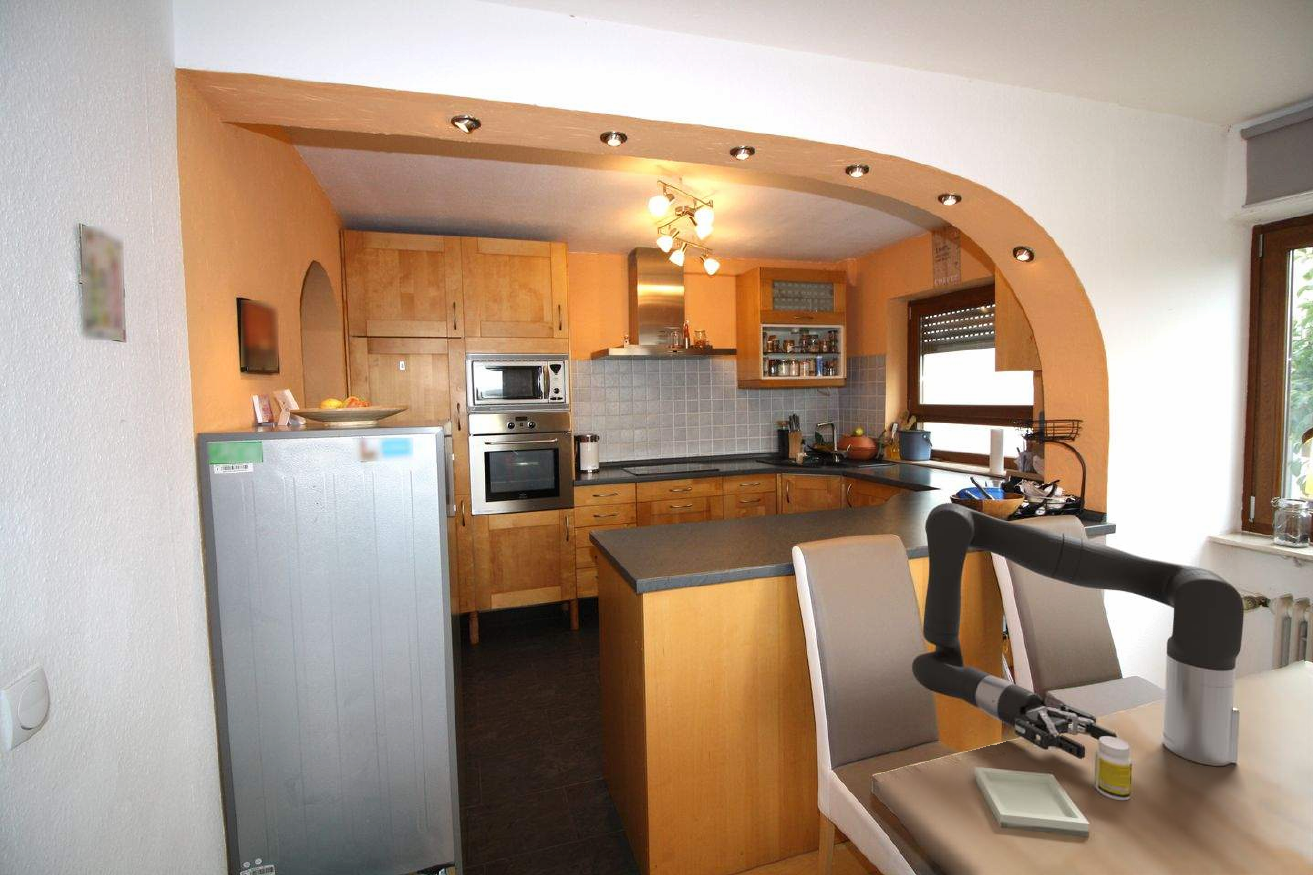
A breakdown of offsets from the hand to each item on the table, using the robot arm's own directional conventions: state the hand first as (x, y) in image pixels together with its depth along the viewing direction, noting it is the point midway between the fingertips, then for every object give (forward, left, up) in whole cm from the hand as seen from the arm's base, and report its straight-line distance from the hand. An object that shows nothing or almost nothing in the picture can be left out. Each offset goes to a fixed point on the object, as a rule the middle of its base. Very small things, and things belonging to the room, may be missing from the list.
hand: (1099, 746), depth 101 cm
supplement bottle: (-1, +2, -7) cm, 7 cm away
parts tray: (+14, +8, -7) cm, 17 cm away
